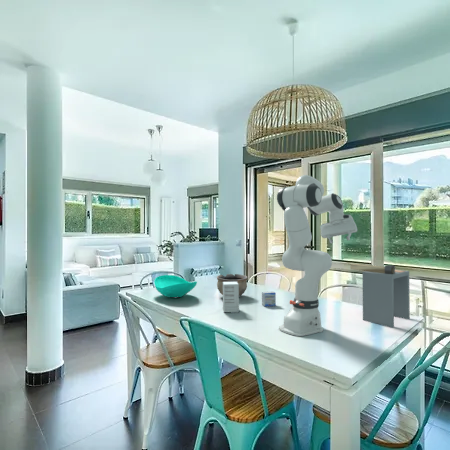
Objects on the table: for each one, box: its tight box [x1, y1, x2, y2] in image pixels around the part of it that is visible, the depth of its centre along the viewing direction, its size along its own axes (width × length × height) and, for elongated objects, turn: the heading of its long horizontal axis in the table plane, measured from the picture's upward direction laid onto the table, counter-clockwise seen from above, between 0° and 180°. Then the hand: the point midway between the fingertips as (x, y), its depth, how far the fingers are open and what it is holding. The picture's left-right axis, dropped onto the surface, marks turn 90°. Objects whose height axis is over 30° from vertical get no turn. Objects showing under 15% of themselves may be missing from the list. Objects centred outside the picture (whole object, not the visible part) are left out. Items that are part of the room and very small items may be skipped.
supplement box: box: [222, 282, 240, 313], centre depth 182 cm, size 10×9×17 cm
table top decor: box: [153, 274, 198, 298], centre depth 218 cm, size 40×28×13 cm
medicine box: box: [261, 291, 277, 308], centre depth 193 cm, size 8×4×9 cm, turn 105°
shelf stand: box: [361, 269, 411, 328], centre depth 163 cm, size 22×15×26 cm
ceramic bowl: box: [216, 273, 248, 297], centre depth 217 cm, size 22×22×15 cm
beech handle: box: [350, 263, 396, 274], centre depth 165 cm, size 5×22×4 cm, turn 39°
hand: (339, 241), depth 172 cm, fingers open, 8 cm apart
